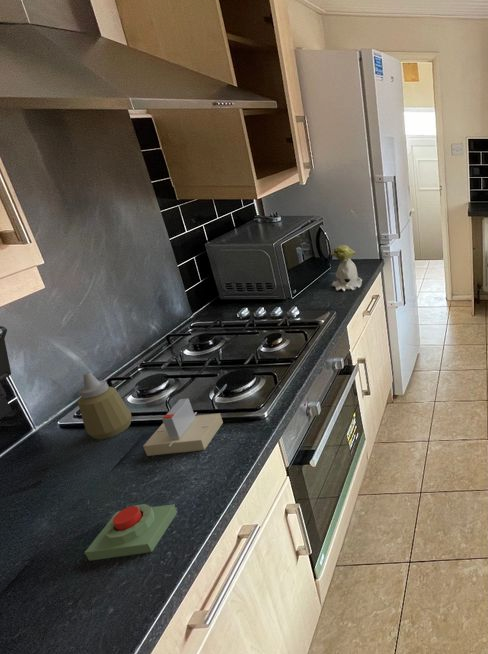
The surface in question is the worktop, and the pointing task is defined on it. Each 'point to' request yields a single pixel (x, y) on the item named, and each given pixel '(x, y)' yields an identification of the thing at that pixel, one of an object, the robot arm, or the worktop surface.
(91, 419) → the squeeze bottle
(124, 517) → the button
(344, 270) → the white green figurine
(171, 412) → the grey rectangular block
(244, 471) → the worktop surface
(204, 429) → the switch base
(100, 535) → the button box
